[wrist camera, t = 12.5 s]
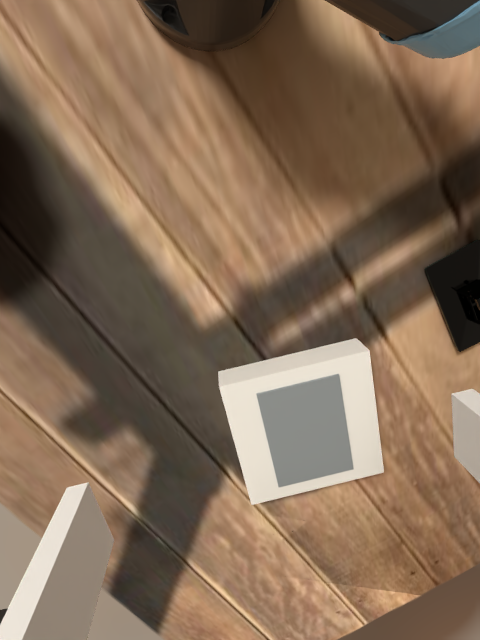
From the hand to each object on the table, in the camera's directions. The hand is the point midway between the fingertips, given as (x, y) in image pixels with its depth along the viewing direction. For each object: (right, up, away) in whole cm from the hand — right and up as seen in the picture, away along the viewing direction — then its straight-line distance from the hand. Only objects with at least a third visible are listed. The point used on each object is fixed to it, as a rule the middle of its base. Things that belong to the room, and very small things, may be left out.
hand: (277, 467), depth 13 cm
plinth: (+7, -7, +36) cm, 38 cm away
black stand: (+26, +8, +35) cm, 45 cm away
